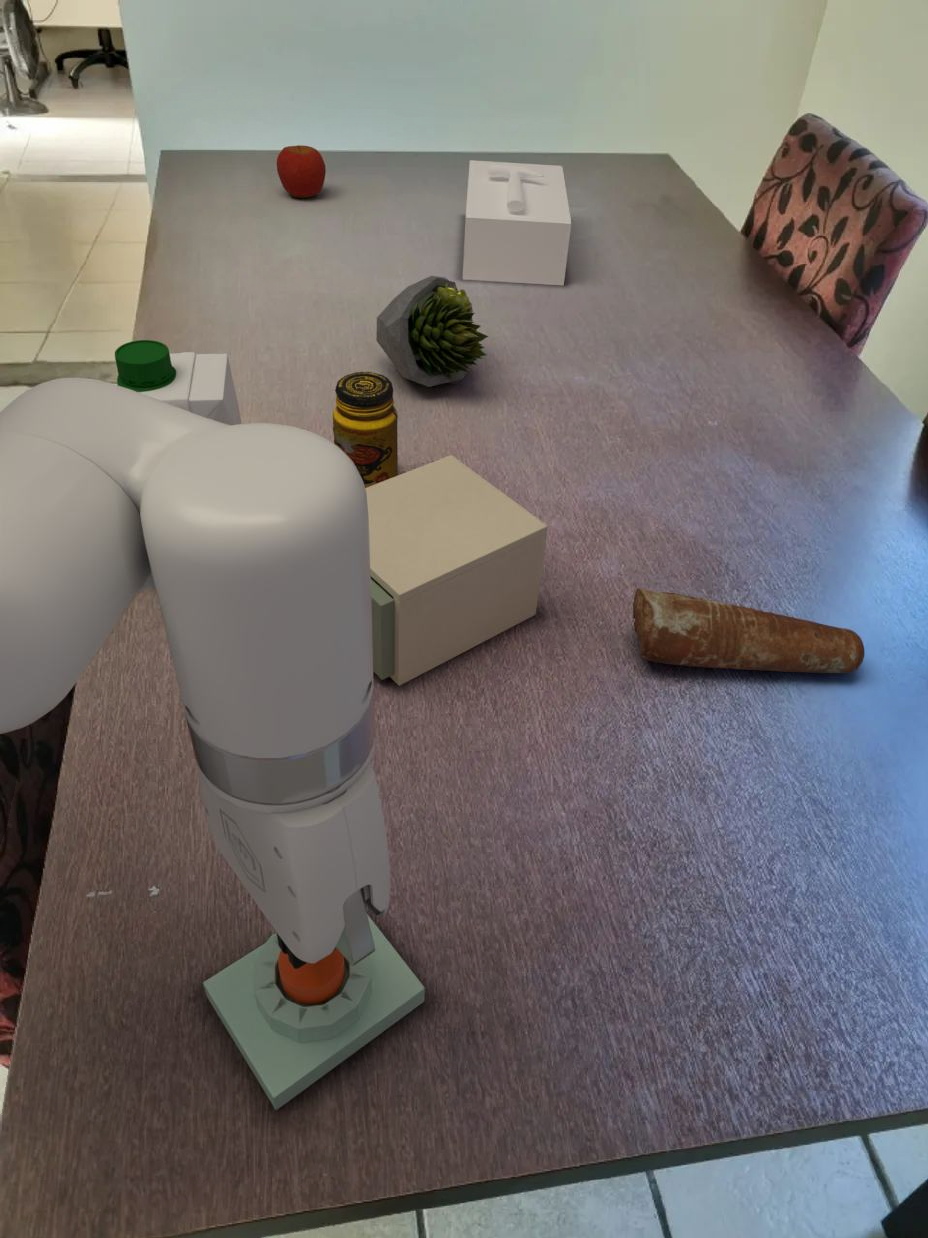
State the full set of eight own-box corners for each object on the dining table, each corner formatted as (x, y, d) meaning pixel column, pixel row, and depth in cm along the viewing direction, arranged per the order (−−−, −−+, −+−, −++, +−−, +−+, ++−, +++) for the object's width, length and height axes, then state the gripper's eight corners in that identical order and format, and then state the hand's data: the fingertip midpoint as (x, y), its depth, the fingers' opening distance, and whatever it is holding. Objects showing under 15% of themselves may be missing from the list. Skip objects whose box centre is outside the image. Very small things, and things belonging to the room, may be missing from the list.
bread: (625, 623, 81) (636, 573, 77) (848, 648, 80) (870, 599, 76) (626, 675, 76) (638, 624, 73) (863, 702, 76) (888, 652, 72)
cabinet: (398, 686, 74) (399, 594, 68) (313, 600, 81) (307, 510, 75) (536, 614, 81) (548, 525, 75) (447, 541, 88) (451, 454, 82)
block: (276, 1111, 51) (270, 1084, 48) (206, 996, 55) (198, 967, 53) (424, 1001, 55) (426, 973, 53) (349, 904, 60) (347, 874, 58)
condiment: (346, 518, 90) (341, 407, 82) (316, 472, 96) (309, 364, 88) (415, 502, 93) (417, 393, 85) (382, 458, 98) (381, 352, 90)
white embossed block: (555, 222, 152) (563, 149, 145) (563, 285, 134) (573, 206, 126) (466, 216, 152) (470, 144, 145) (462, 279, 133) (466, 199, 126)
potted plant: (461, 313, 117) (540, 327, 106) (408, 400, 117) (481, 422, 106) (398, 248, 109) (476, 255, 98) (340, 341, 109) (411, 359, 98)
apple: (306, 206, 152) (303, 155, 146) (268, 196, 154) (264, 144, 149) (335, 194, 157) (333, 144, 151) (298, 184, 159) (295, 134, 154)
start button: (302, 1017, 51) (300, 1002, 50) (268, 967, 53) (265, 952, 52) (357, 979, 53) (356, 964, 52) (322, 932, 55) (321, 917, 54)
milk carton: (159, 529, 88) (117, 326, 74) (258, 525, 89) (234, 324, 75) (149, 590, 81) (100, 380, 68) (255, 585, 82) (229, 377, 69)
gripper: (120, 652, 41) (185, 883, 53) (300, 895, 33) (328, 1103, 45) (271, 587, 45) (299, 817, 57) (468, 791, 36) (451, 1009, 49)
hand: (312, 943), depth 51 cm, fingers closed
